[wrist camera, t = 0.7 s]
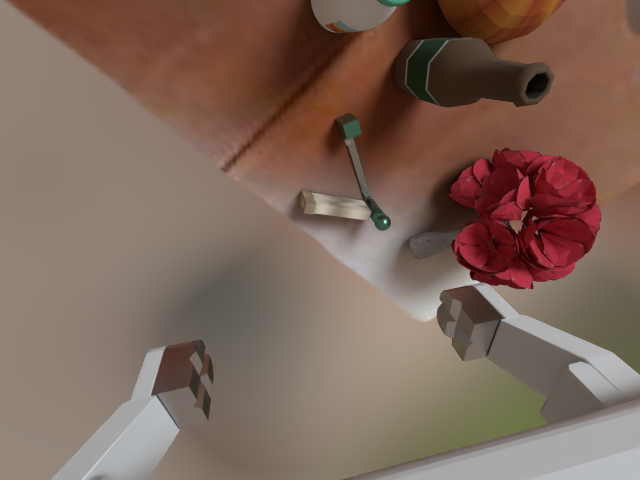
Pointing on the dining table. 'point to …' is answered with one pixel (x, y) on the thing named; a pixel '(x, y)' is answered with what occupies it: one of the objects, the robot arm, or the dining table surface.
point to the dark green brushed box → (348, 127)
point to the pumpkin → (497, 17)
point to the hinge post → (378, 215)
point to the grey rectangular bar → (333, 206)
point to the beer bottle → (467, 74)
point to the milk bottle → (353, 13)
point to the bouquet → (507, 204)
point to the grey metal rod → (358, 169)
